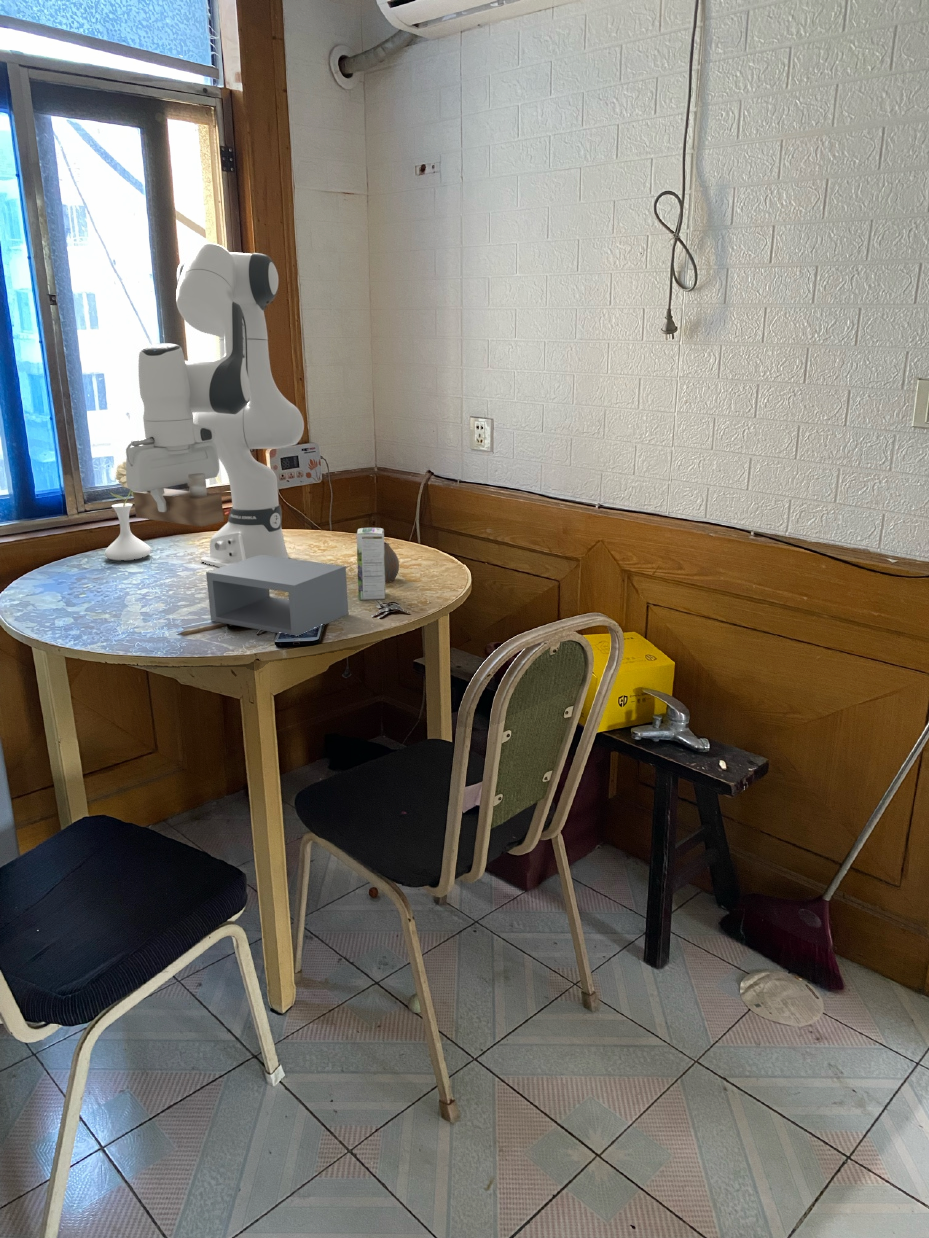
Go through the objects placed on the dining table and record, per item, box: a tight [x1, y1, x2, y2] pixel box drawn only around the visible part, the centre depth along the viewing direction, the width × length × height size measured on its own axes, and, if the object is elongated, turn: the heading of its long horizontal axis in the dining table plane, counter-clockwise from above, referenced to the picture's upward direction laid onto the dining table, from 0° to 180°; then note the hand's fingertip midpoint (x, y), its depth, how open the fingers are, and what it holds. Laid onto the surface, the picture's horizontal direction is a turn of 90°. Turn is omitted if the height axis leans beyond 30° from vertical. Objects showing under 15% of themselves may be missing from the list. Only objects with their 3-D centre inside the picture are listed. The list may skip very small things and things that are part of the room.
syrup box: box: [356, 527, 386, 601], centre depth 195 cm, size 6×6×14 cm
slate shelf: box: [205, 555, 349, 637], centre depth 182 cm, size 22×16×10 cm
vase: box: [384, 541, 400, 583], centre depth 208 cm, size 7×7×9 cm
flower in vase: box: [103, 460, 152, 561], centre depth 230 cm, size 13×11×25 cm
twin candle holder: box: [132, 473, 225, 527], centre depth 174 cm, size 18×6×9 cm, turn 59°
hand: (178, 508), depth 175 cm, fingers closed on twin candle holder, 6 cm apart
